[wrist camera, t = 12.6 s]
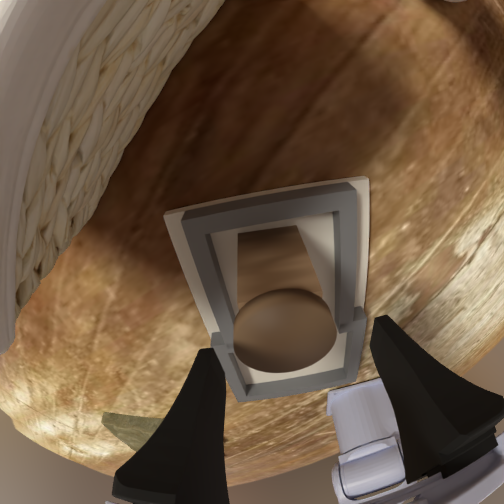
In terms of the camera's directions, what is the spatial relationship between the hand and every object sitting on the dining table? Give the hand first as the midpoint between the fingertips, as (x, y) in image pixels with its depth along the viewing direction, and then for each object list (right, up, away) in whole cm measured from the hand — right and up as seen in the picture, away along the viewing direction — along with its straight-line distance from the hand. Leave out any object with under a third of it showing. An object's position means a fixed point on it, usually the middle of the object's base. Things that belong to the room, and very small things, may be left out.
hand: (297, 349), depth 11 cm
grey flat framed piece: (+1, -1, +12) cm, 12 cm away
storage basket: (-14, +18, +1) cm, 22 cm away
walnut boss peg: (-1, +4, +8) cm, 9 cm away
